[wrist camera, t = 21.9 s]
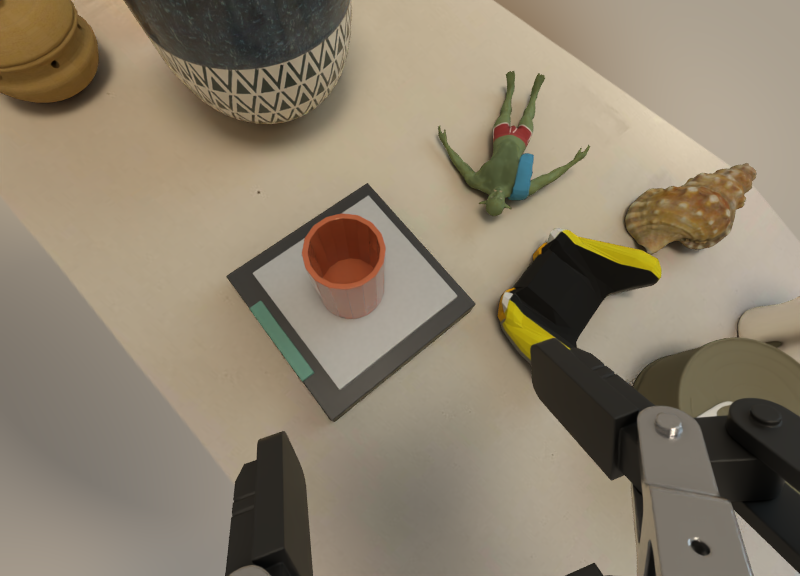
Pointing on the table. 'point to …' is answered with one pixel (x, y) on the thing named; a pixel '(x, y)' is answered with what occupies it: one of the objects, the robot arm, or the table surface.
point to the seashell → (690, 210)
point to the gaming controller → (569, 288)
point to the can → (722, 378)
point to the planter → (252, 51)
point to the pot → (45, 50)
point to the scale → (351, 338)
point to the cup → (346, 264)
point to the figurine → (509, 157)
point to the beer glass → (774, 326)
